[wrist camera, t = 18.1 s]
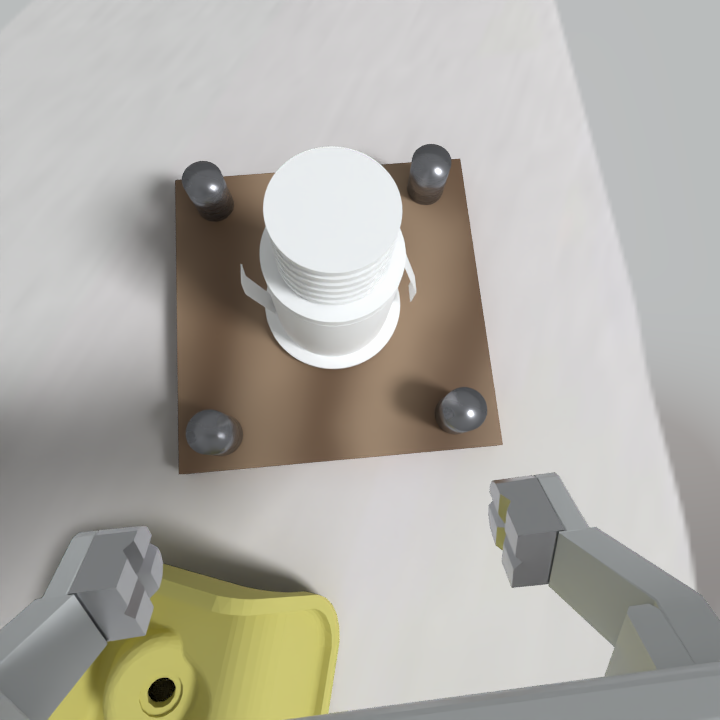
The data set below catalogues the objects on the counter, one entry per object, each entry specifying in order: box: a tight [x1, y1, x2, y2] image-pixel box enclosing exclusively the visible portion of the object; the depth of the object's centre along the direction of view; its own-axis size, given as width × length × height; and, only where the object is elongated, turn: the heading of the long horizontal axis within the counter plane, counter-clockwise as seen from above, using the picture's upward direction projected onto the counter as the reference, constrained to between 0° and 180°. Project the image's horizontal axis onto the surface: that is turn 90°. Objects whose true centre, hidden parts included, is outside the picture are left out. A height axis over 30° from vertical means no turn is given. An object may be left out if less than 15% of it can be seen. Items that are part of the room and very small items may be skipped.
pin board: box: [175, 144, 503, 474], centre depth 25 cm, size 16×16×4 cm
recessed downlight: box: [241, 146, 416, 369], centre depth 21 cm, size 8×7×10 cm
